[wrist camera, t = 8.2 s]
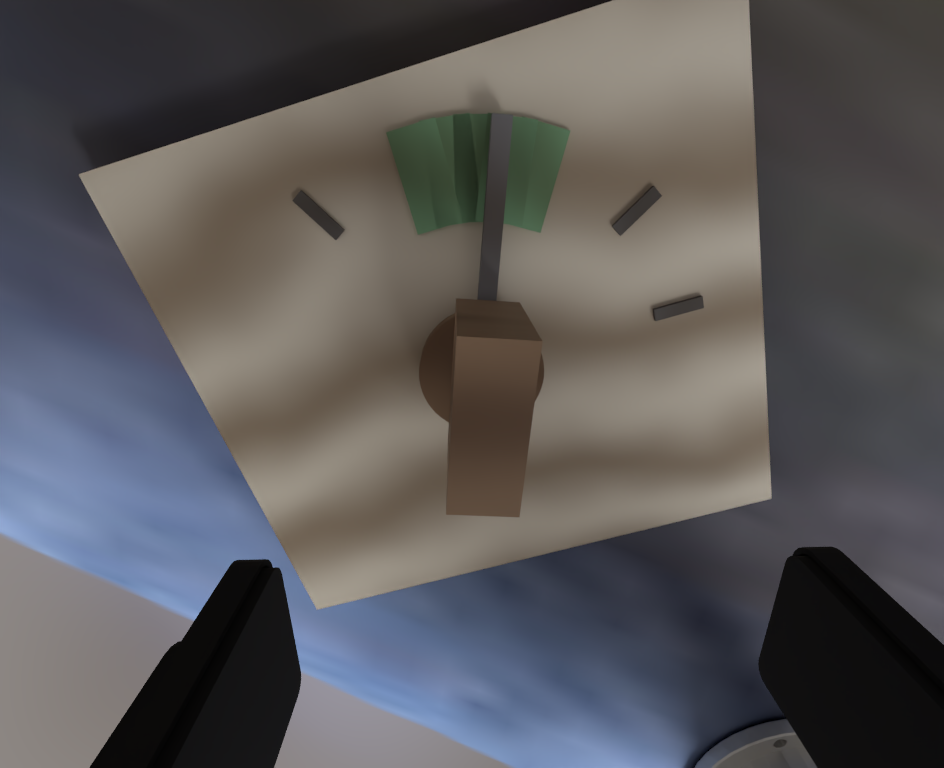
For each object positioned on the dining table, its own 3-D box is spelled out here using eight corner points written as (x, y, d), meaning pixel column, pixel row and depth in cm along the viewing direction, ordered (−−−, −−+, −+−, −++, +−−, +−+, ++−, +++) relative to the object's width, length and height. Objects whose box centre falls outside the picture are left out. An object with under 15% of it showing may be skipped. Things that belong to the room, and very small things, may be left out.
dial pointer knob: (531, 432, 21) (558, 518, 16) (418, 427, 21) (405, 513, 15) (572, 122, 17) (631, 88, 11) (428, 110, 16) (415, 68, 11)
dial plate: (754, 481, 25) (774, 501, 23) (324, 587, 27) (316, 612, 25) (722, -25, 17) (750, -46, 15) (106, 175, 19) (73, 174, 17)
